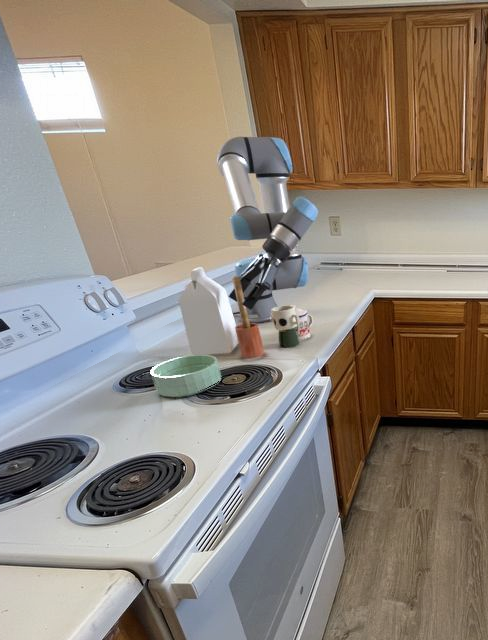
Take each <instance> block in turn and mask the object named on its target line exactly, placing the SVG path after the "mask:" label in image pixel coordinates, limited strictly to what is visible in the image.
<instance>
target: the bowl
mask: <svg viewBox="0 0 488 640" xmlns="http://www.w3.org/2000/svg"><path fill="white" fill-rule="evenodd" d="M150 376H151V379H152V383H153V385H154V388H155V391H156V393H157V394H158V395H160V396H163V397H167V398H183V397H190V396H195V395H198V394H201V393H204V392H206V391H208V389H210V388H213V387H214V386H216V385H218V384H219V383H220V382H221V381H222V378H223V376H222V372H221V368H220V365H219V360H218V358H217V357H216V356H214V355H212V354H207V355H192V354H191V355H185V356H179V357H175V358H171V359H169V360H166V361H163V362H161V363H159V364H157V365H155V366H154V367H152V368H151V370H150ZM221 377H222V378H221ZM218 381H219V382H218ZM217 382H218V383H217ZM215 383H217V384H215ZM213 384H215V385H213ZM211 385H213V386H211ZM209 386H211V387H209ZM207 387H209V388H207ZM205 388H207V389H205ZM202 389H205V390H202ZM200 390H202V391H200ZM198 391H199V392H198Z"/></svg>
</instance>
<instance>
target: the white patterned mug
mask: <svg viewBox="0 0 488 640" xmlns="http://www.w3.org/2000/svg"><path fill="white" fill-rule="evenodd" d="M290 306H294V308H295V313H296V315H298V317H299V325H297V326H296V327H294V329H295V331H296V334H297V337H298V340H299V341H300V340H303V339H307V338H310V337H311V331H310V328H311V327H312V325H313V322H314V318H313V315H312V314H311V313H308V312H307V311H308V310H306V309H304V308H300V307H297V306H296V305H295V304H290ZM308 318H309V319H308Z"/></svg>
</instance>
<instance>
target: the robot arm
mask: <svg viewBox="0 0 488 640" xmlns="http://www.w3.org/2000/svg"><path fill="white" fill-rule="evenodd" d="M216 157H217V158H216V165H217V168H218V171H219V173H220V174H221V176H222V177H223V178H224V180H225V181H224V182H225V184H226V187H227V191H228V194H229V195H228V196H229V198H230V201H231V205H232V208H233V212H234V214H231V215H230V217H229V221H230V225H231V226H230V227H231V231H232V235H233V237H234V239H235V240H237V241H254V240H255V241H256V240H265V241H264V242H263V244H262V246H261V247H262V249H263V251H265V253H264V254H263V253H259V254H258V255H257V257H251V258H247V259H243V260H241V261H239V262H236V264H235V266H234V269H235V271H234V272H235V276H237V277H239V278H240V282H241V286H242V291H243V295H244V302H243V303H242V305H244V306H245V307H246V309H247V313H248V318H249V323H257V324H258V323H268V322H272V321H271V317H270V313H271V309H272V308H274V307H278V306H279V305H278V304H277V302H276V300H275V298H274V295H273V291H280V290H288V289H297V288H302V287H305V286H306V285H307V284H308V280H309V265H308V261H307V259H306V257H304V256H302V252H301V251H299V250H298V249H297V248H298V247H299V243H300V241H301V240H302V238H303V237H304V235H305V234H306V233H307V231H308V230H309V229H310V227H311V226H312V225H313V223H314V222H315V220H316V218H317V217H318V215H319V210H318V208H317V207H316V205H315V204H314V203H312V202H311V201H310V200H309V199H307V198H306V197H304V196H297V197H296V198H295V199H294V200H293V201H292V203H291V205H290V200H289V194H288V193H289V192H288V188H287V183H288V181H289V179H290V174H292V173H293V163H292V157H291V155H290V151H289V148H288V146H287V143H286V142H285V141H284V139H282V138H280V137H272V136H234V137H232V138H230V139H228V140H226V141H225V142H224V143H223V144H222V146H221V147H220V149H219V151H218V153H217V156H216ZM249 174H255V177H256V178H255V179H256V180H257V181H258V182H259V183H260V184H261V187H262V193H263V198H264V203H265V209H266V212H263V213H261V210H260V206H259V204H258V199H257V198H256V195H255V191H254V188H253V186H252V183H251V180H250V176H249ZM227 296H228V298H230V299H231V300H233V301H234V302H237V298H236V294H235V289H234V288H233V289H232V290H231V292H230V293H229V295H227ZM237 303H238V302H237ZM232 313H233V316H234V315H240V311H235V312H232ZM240 318H241V316H240ZM240 320H241V319H240ZM241 322H242V320H241Z"/></svg>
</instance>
